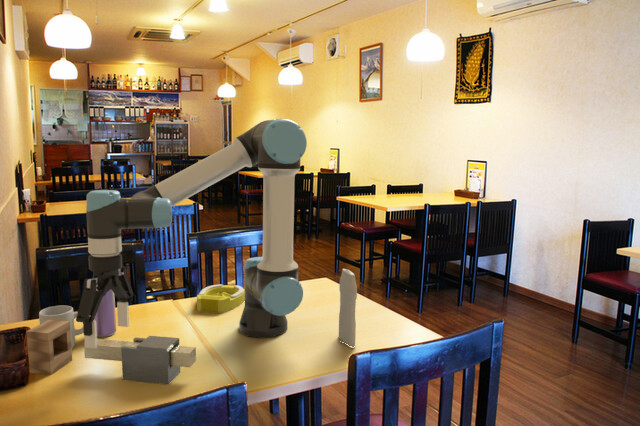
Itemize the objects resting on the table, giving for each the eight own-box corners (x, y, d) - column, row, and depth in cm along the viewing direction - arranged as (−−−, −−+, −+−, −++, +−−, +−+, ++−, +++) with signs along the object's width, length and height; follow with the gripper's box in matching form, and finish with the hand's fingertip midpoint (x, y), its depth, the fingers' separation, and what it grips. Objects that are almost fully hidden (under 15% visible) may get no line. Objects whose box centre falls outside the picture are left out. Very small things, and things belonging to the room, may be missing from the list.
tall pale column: (333, 335, 146) (334, 266, 142) (345, 334, 147) (347, 265, 144) (347, 350, 136) (349, 275, 133) (360, 348, 137) (362, 274, 134)
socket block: (72, 360, 127) (69, 321, 125) (51, 374, 119) (48, 333, 118) (52, 358, 128) (49, 319, 126) (29, 372, 120) (26, 331, 118)
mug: (43, 356, 129) (40, 318, 127) (39, 345, 136) (37, 308, 134) (91, 346, 136) (89, 309, 134) (85, 336, 143) (83, 301, 141)
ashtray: (187, 311, 166) (186, 297, 165) (210, 293, 186) (210, 280, 185) (232, 314, 163) (232, 300, 162) (250, 295, 183) (250, 283, 183)
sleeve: (180, 372, 121) (179, 338, 120) (168, 384, 115) (167, 348, 114) (136, 368, 123) (135, 334, 122) (122, 380, 117) (121, 344, 116)
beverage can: (108, 338, 141) (105, 289, 139) (90, 336, 143) (87, 288, 140) (120, 330, 147) (118, 284, 145) (103, 329, 148) (100, 282, 146)
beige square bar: (196, 360, 119) (195, 347, 118) (189, 367, 115) (189, 353, 115) (93, 351, 123) (92, 338, 122) (84, 357, 119) (83, 344, 119)
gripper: (120, 242, 129) (122, 317, 132) (55, 264, 105) (60, 355, 108) (145, 244, 128) (147, 319, 131) (86, 266, 104) (90, 359, 107)
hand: (108, 336), depth 119 cm, fingers open, 13 cm apart
